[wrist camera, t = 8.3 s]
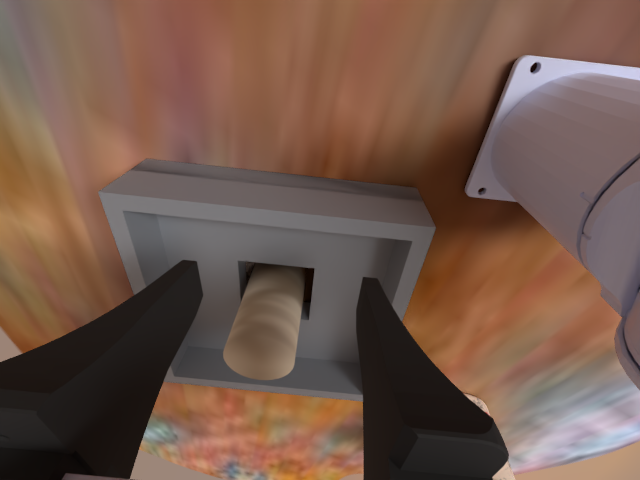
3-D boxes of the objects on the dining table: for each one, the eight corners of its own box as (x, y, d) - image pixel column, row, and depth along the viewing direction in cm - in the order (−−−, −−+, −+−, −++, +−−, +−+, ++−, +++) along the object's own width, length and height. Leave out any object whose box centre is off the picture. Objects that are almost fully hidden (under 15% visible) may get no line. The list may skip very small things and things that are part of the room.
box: (416, 187, 21) (436, 227, 16) (367, 352, 31) (372, 402, 27) (146, 158, 20) (97, 191, 16) (187, 334, 31) (164, 381, 26)
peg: (302, 252, 24) (288, 335, 18) (309, 292, 27) (298, 379, 20) (247, 254, 25) (214, 337, 18) (259, 294, 27) (233, 380, 20)
